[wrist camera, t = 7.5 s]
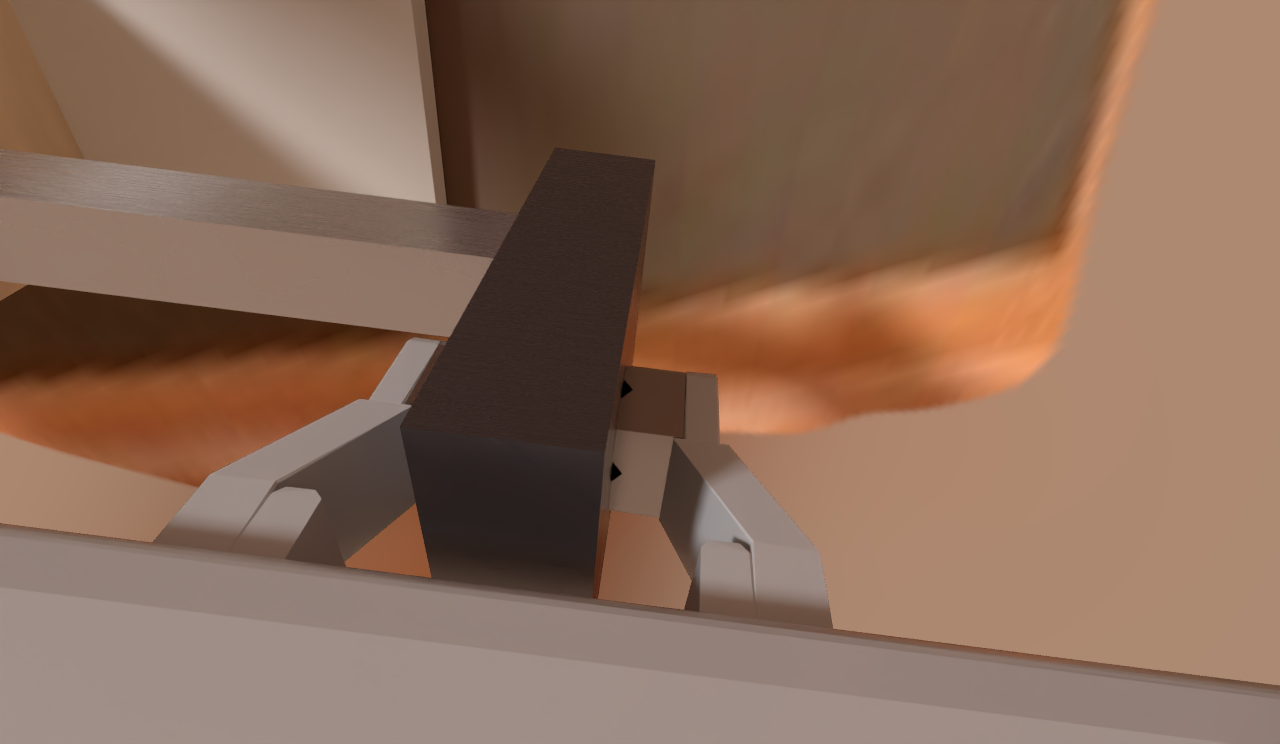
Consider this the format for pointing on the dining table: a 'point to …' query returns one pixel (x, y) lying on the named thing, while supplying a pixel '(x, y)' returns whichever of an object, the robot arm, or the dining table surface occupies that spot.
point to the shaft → (401, 321)
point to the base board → (249, 89)
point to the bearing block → (27, 105)
